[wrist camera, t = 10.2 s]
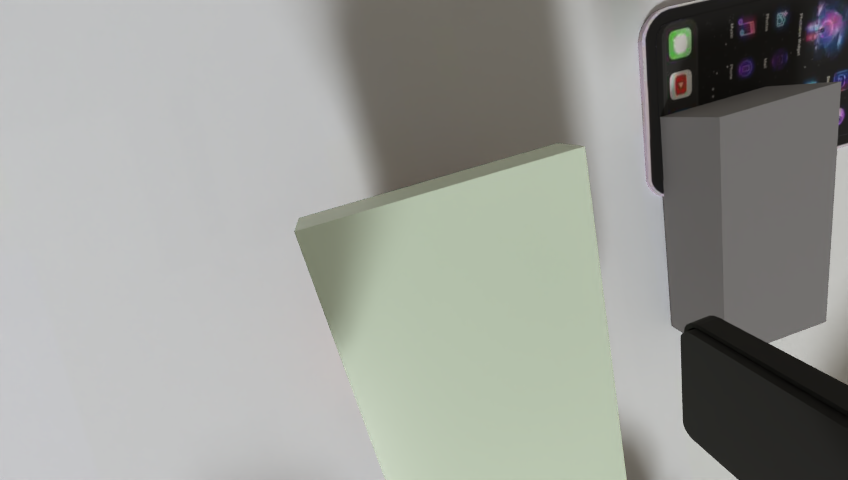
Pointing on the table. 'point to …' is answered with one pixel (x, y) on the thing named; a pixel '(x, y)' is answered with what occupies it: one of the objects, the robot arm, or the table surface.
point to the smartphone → (736, 58)
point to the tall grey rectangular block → (752, 208)
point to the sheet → (475, 322)
